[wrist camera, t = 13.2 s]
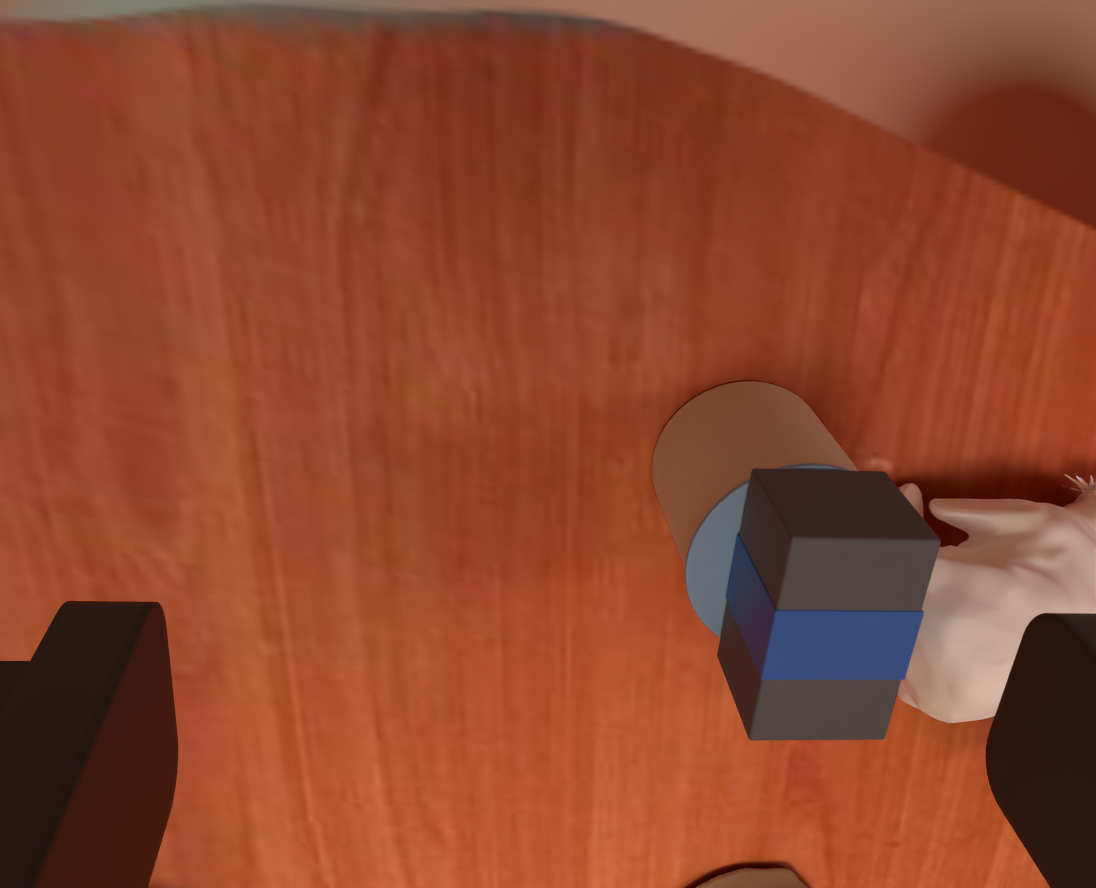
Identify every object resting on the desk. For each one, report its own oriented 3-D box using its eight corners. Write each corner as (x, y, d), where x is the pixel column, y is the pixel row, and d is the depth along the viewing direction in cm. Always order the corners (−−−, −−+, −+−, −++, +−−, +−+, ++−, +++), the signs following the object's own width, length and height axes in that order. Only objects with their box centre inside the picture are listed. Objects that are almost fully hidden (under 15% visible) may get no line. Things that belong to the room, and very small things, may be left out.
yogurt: (658, 371, 37) (703, 462, 31) (846, 378, 38) (927, 468, 32) (635, 539, 40) (671, 652, 34) (809, 542, 41) (876, 654, 35)
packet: (748, 466, 31) (790, 539, 27) (886, 469, 31) (945, 541, 28) (714, 654, 34) (747, 743, 30) (840, 655, 35) (887, 741, 31)
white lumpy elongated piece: (934, 629, 32) (1289, 525, 33) (818, 498, 39) (1109, 417, 40) (939, 778, 35) (1264, 678, 36) (830, 629, 42) (1101, 550, 43)
